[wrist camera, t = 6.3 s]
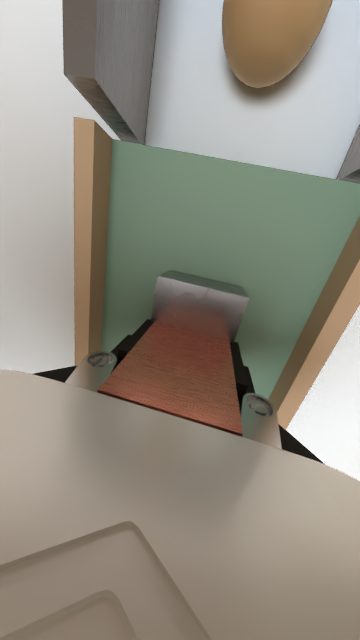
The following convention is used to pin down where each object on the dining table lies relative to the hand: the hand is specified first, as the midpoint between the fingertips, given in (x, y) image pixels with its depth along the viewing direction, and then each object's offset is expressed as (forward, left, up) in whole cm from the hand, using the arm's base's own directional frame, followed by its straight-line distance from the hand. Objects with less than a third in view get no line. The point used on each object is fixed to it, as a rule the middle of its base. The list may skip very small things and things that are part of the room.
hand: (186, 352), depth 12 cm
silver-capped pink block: (+1, 0, -2) cm, 2 cm away
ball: (+12, +10, -1) cm, 15 cm away
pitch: (-1, -1, -3) cm, 4 cm away
